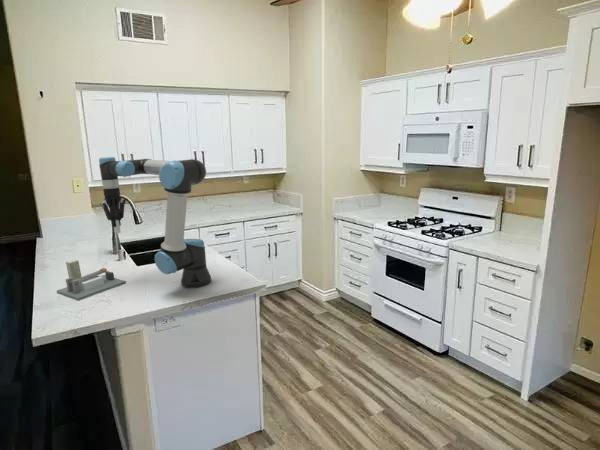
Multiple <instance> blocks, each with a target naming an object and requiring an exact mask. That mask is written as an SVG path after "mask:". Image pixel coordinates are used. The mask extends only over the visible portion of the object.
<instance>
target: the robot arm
mask: <svg viewBox="0 0 600 450" xmlns="http://www.w3.org/2000/svg"><path fill="white" fill-rule="evenodd" d="M98 163H99V164H98V165H99V170H100V177H101V184H102V188H103V196H104V199H103V201H102V202H100V203H99V204H100V206H101V207H102V209H103V211H104V214H105V216H106V219H107V220H108V221H111V224H112V228H114V233H115V234H120V233H121V232H122V231H121V227H120V226H121V225H122V223H121V221H122V219H123V218H124V217H125V216H124V215H125V204H126V202H127V199H123V198H122V195H121V190H120V183H119V177H123V178H126V177H132V176H136V175H154V176H158V179H159V181H160V184H161V186H162V187H163V189H164V190H163V191H165V192H166V194H167V196H166V211H165V212H166V213H165V228H164V230H165V231H164V241H163V242H162V243H160V251H157V253H155V255H154V263H155V266H156V267H157V268H158V270H159V271H160V272H161V273H162V274H165V275H170V274H175V273H177V272H179V271H181V270H182V275H181V279H180V285H181V286H182V287H184V288H191V289H192V288H193V289H194V288H200V287H204V286H206V285H209V284H210V283H211V282H212V277H211V274H210V272H209V270H208V267H207V259H206V258H207V257H206V247H205V242H204V240H203V239H200V238H185V230H186V229H185V227H186V214H187V203H188V196H189V195H190V194H191V193H192V186H193V185H198V184H201V183H202V182H203V181H204V180H205V178H206V176H207V169H206V166H205V164H204V162H202V161H201V160H198V159H193V158H192V159H191V158H190V159H183V160H159V159H156V160H155V159H151V158H142V159H141V158H140V159H129V160H117V159H116V157H114V156H103V157H99V159H98Z"/></svg>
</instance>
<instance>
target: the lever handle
mask: <svg viewBox="0 0 600 450" xmlns="http://www.w3.org/2000/svg"><path fill="white" fill-rule="evenodd" d="M107 269H108V268H106V267H105V268H104V267H102V268H99V270H97V271H94V272H92V273H89V274H85V275H84V276H82V277H81V278H78V279H75V280H78V281H79V282H81V281H84V280H87V279H89V278H92V277H94V276H101V275H102V274H105V272H107V271H108V270H107Z"/></svg>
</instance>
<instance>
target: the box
mask: <svg viewBox="0 0 600 450" xmlns="http://www.w3.org/2000/svg"><path fill="white" fill-rule="evenodd" d="M65 264H66V265H65V266H66V269H67V274H68V278H72V279H73V280H75V279H78V278H81V277H83V276H82V271H81V267H80V262H79V259H71V260H67V261H65Z"/></svg>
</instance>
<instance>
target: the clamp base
mask: <svg viewBox="0 0 600 450" xmlns="http://www.w3.org/2000/svg"><path fill="white" fill-rule="evenodd" d="M114 275H115V274H114V272H112V271H108V270H107V272H105V273H104V274H103V275H102V274H101V275H97V276H94V277H92V278H89V279H87V280H84V281H81V282H79V281H78V280H73V279H72V278H69V277H68V278H65V281H66V282H65V283H66V287H63V288H60V289H58V290H56V293H57V294H59V295H62V296H65V297H68V298H70V299H73V300H76V301H81V300H84V299H87V298H89V297H90V298H91V297H92V296H94V295H98V294H100V293H103V292H106V291H108V290H111V289H114V288H117V287H120V286H122V285H125V284H126V283H127V281H126V280H123V279H120V278H116V277H115V276H114Z"/></svg>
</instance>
